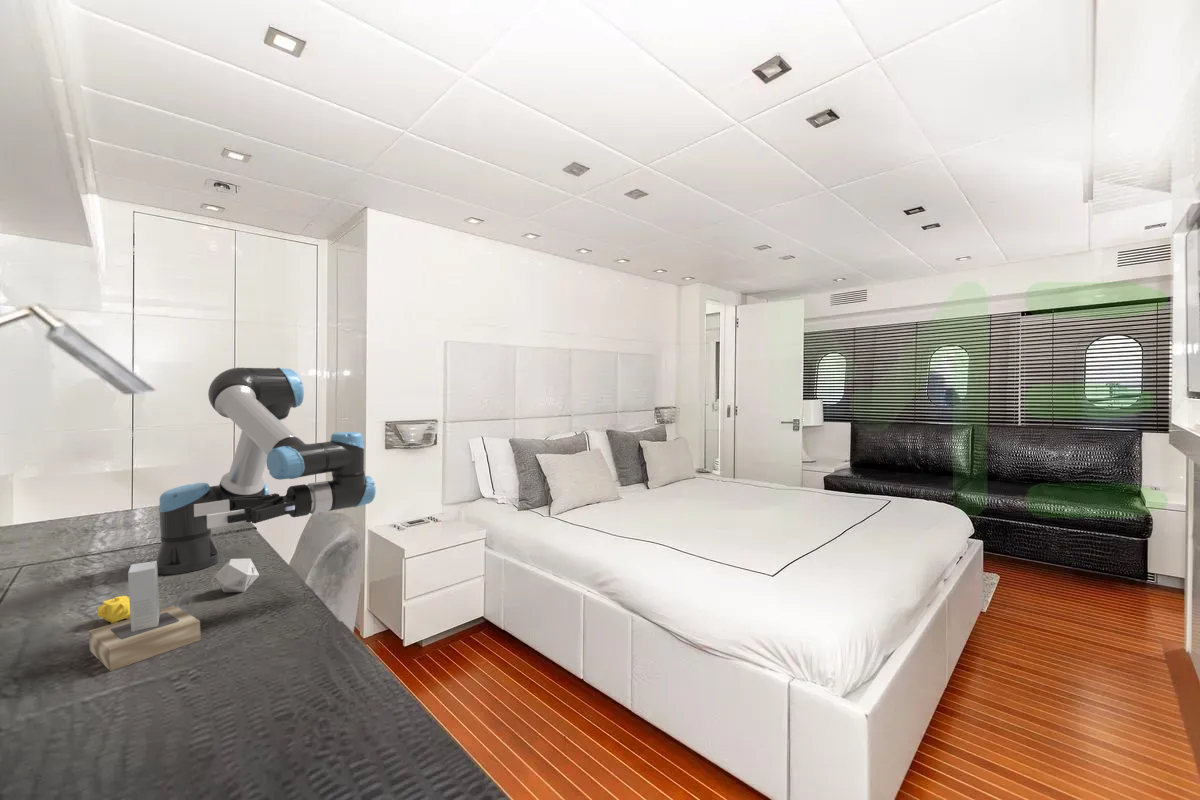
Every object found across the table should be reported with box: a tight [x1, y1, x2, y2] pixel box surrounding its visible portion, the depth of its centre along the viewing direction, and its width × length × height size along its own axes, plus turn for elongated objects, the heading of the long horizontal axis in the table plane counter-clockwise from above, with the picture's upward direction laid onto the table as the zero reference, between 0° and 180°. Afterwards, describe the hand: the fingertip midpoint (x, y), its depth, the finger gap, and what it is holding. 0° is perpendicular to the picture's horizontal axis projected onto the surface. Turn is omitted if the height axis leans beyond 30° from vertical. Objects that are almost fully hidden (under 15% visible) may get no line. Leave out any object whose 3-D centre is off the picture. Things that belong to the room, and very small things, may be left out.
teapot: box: [96, 595, 130, 624], centre depth 119 cm, size 8×6×5 cm
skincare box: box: [127, 560, 161, 632], centre depth 106 cm, size 6×4×12 cm
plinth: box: [88, 605, 202, 672], centre depth 107 cm, size 14×14×4 cm
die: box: [214, 558, 260, 593], centre depth 135 cm, size 8×9×10 cm
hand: (200, 516), depth 113 cm, fingers open, 13 cm apart
